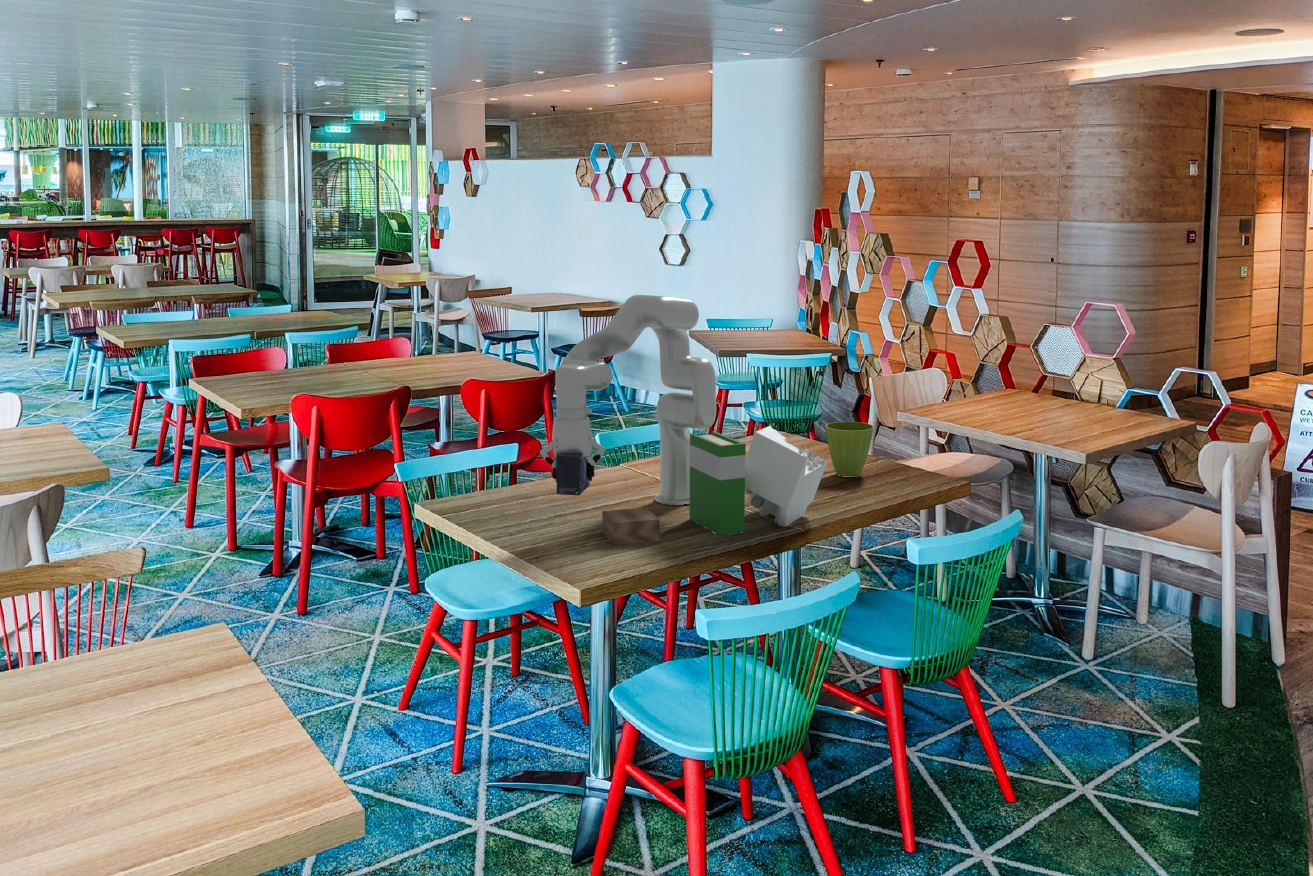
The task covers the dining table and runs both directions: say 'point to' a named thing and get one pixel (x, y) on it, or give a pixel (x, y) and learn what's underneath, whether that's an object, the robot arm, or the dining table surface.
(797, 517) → the white toy brick
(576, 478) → the small box
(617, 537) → the walnut block
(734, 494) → the hardback book
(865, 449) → the flower pot
